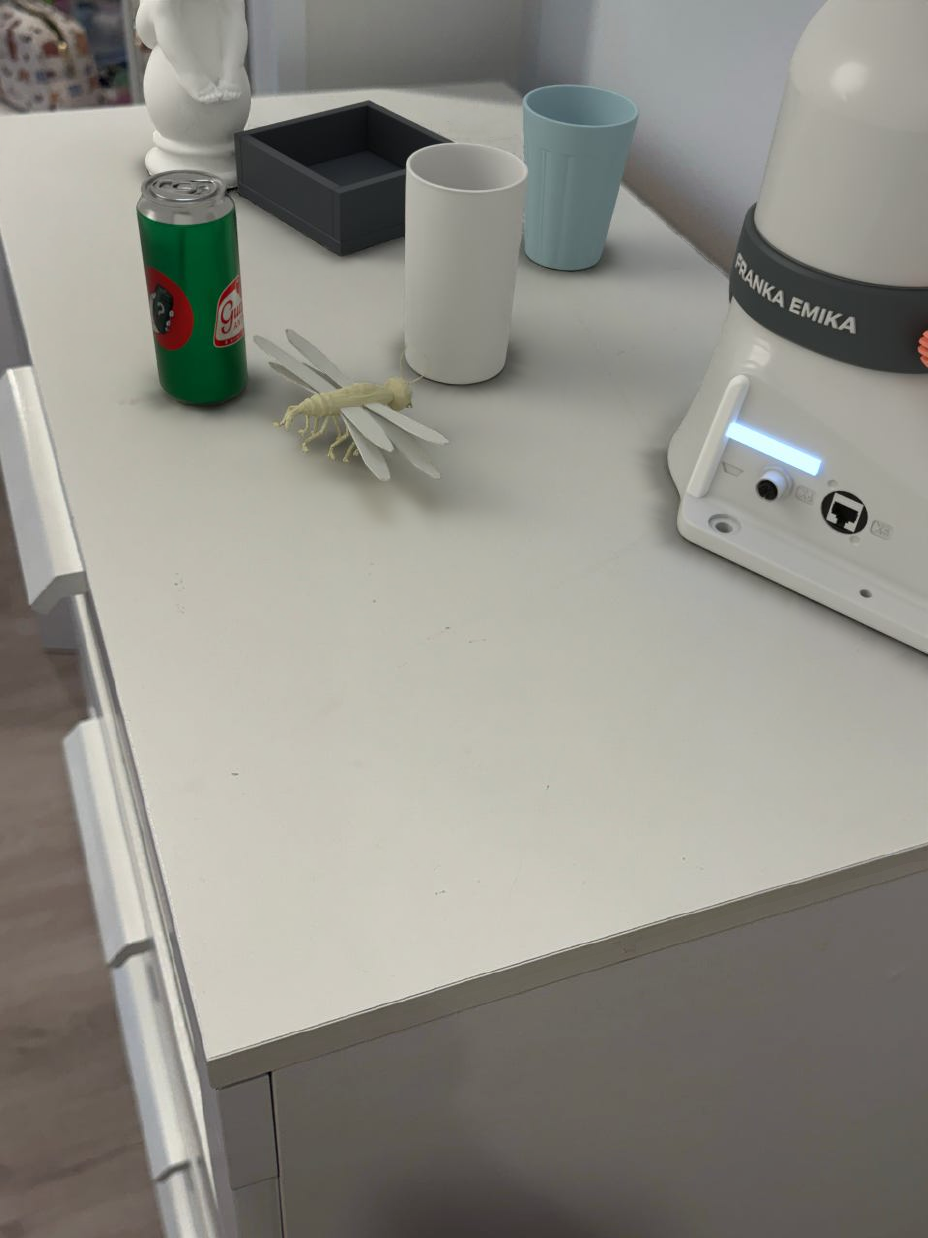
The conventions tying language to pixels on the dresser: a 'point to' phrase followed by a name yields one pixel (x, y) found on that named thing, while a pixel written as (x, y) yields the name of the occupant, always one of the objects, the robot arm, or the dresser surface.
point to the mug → (461, 258)
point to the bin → (333, 172)
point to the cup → (573, 170)
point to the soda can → (193, 285)
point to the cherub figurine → (195, 83)
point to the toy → (353, 407)
